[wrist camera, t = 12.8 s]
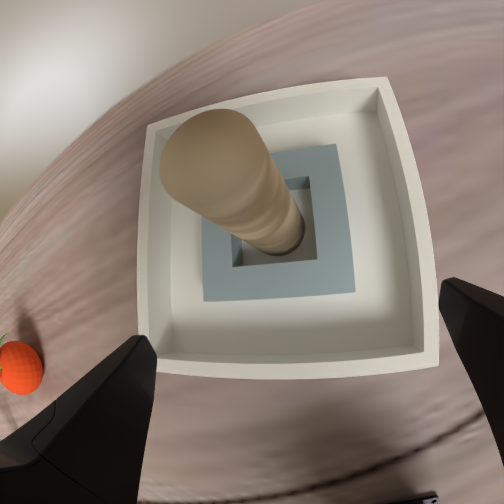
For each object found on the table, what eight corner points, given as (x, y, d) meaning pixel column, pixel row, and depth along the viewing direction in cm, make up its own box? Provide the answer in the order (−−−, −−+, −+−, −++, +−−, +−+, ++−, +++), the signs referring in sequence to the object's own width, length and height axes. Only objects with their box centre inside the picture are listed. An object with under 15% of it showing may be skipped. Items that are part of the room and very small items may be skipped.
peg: (280, 267, 21) (205, 229, 10) (240, 233, 22) (142, 170, 11) (316, 224, 21) (283, 137, 9) (275, 192, 22) (207, 95, 11)
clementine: (24, 330, 31) (-17, 330, 24) (48, 333, 29) (1, 334, 22) (31, 385, 29) (-9, 391, 23) (56, 395, 27) (12, 404, 21)
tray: (422, 354, 18) (438, 365, 14) (169, 361, 23) (141, 369, 20) (383, 106, 21) (386, 76, 17) (170, 144, 27) (147, 125, 23)
